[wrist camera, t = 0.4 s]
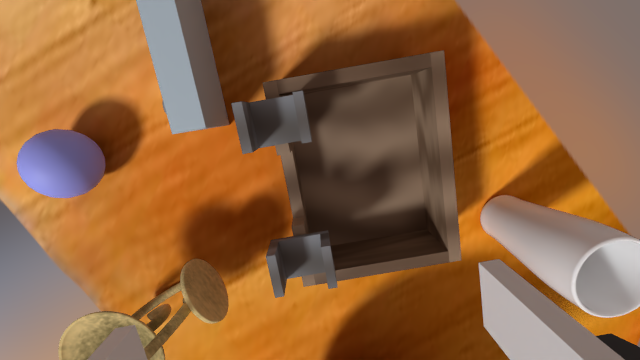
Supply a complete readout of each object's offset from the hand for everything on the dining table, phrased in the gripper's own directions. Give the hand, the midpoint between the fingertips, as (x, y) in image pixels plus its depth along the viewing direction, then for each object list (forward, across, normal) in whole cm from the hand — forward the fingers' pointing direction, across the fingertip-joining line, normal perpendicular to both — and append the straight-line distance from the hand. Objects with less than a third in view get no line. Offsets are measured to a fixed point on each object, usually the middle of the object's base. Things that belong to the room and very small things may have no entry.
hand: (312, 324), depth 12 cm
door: (+26, -9, +15) cm, 31 cm away
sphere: (+26, -24, +7) cm, 36 cm away
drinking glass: (+26, +21, -8) cm, 34 cm away
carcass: (+25, +4, +1) cm, 26 cm away
